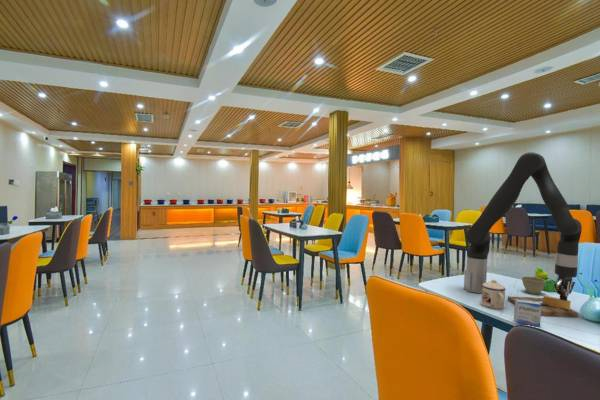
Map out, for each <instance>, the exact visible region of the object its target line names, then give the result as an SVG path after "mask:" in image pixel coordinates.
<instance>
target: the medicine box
mask: <svg viewBox="0 0 600 400" xmlns="http://www.w3.org/2000/svg"><path fill="white" fill-rule="evenodd" d="M513 309H514V312H513V313H514V314H513V320H514V321H515V322H516V324H519V325H520V324H521V325H526V326H532V327H541V317H542V316H541V304H540V303H539V302H537V301H529V300H521V299H515V305H514V307H513Z"/></svg>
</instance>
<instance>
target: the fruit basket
mask: <svg viewBox="0 0 600 400" xmlns="http://www.w3.org/2000/svg"><path fill="white" fill-rule="evenodd" d="M534 272H535V273H534V274H535V275H533V276H532V277H536V278H541V279H544V280H546V283H545V286H544V288H543V290H542V291H544V292H553V293H554V292H556V289H555V286H554V284H555V283H556V284H557V283H558V282H557V281H556V280H554V279H552V278H550V277H548V275H549V273H548V272H546V271H545V270H544V269H543V268H541V267H536V269H535V270H534Z"/></svg>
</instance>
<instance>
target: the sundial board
mask: <svg viewBox="0 0 600 400" xmlns="http://www.w3.org/2000/svg"><path fill="white" fill-rule="evenodd" d="M543 298H544V297H532V296H531V297H529V296H507V302H508V303H511V304H513V305H514V306H515V299H521V300H529V301H534V299H540V300H543ZM541 317H558V318H559V317H560V318H579V312H578V311H576V310H573V309H571V308H570V310H568V309H564V308H559V307H555V306H551V305H541Z"/></svg>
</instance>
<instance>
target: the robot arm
mask: <svg viewBox="0 0 600 400" xmlns="http://www.w3.org/2000/svg"><path fill="white" fill-rule="evenodd" d="M530 177H531V178H532V179H533V180H534V183H535V184H536V186H537V188H538V190H539V193H540V196H541V199H542V201H543V203H544V205H545V206H546V207H547V210H548V211H549V213H550V214H551V219H552V220H553V223H554V225H555V227H556V229H557V230H558V232H559V233H560V238H559V240H558V242H557V246H556V249H557V250H556V254H555V255H556V256H555V260H554V261H555V262H554V274H556V275H558V278H557V281H556V282H558V283H557V284H556V283H555V284H554V286H555V289H556V291H555V292H556V294H558V295H559V299H564V300H568V297H569V295H571V294H572V291H573V289H574V286H575V284H576V282H575V281H573V278H576V277H577V276H578V268H579V244H580V239H581V235H582V230H583V229H582V227H583V226H582V223H581V222H580V221H579V220H578V219H577V218H574V217H573V214H572V213H571V211H570V206H569V204H568V202H567V201H566V199H565V198H564V196H563V195H562V193H561V191H560V189H559V188H558V187H557V185H556V184H555V181H554V179H553V178H552V176H551V174H550V171H549V169H548V165H547V163H546V160H545V158H544V156H542V155H541V154H539V153H537V152H531V151H529V152H525V153H523V154H522V155H521V156H520V157H519V158H518V160H517V161H516V162H515V165H514V167H513V168H512V170H511V172H510V173H509V175H508V177H507V178H506V179H505V180H504V181H503V183H502V184H501V185H500V186H499V187H498V189H497V191H496V192H495V193H494V194H493V196H492V198H490V200H489V202H488V204H487V205H486V206H485V208H484V210H482V212H481V214H480V216H478V218H477V220H475V222H474V223H472V225H471V226H470V227H469V228H468V229H467V231H466V233H465V239H466V242H468V243H469V248H468V250H467V252H466V268H465V269H466V270H464V274H463V275H464V276H463V278H464V279H463V289H464V290H466V291H467V292H470V293H476V294H482V290H483V286H482V285H483V283H487V273H488V271H487V270H488V256H489V253H490V246H491V245H490V244H491V234H490V230H491V229H492V227H493V226H494V225H496V223H497V222H499V221H500V220H501V219H502V218H503V217H504V216H506V214H508V212H509V211H510V210H511V208H513V206H514V205H515V203H516V201H517V200H518V198H519V196H520V195H521V191H522V189H523V187H524V185H525V183H526V182H527V181H528V179H530Z"/></svg>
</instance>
